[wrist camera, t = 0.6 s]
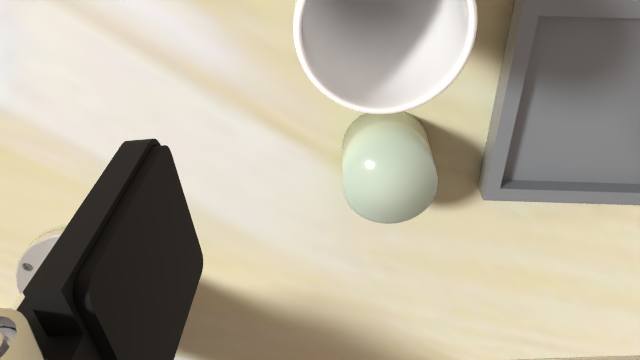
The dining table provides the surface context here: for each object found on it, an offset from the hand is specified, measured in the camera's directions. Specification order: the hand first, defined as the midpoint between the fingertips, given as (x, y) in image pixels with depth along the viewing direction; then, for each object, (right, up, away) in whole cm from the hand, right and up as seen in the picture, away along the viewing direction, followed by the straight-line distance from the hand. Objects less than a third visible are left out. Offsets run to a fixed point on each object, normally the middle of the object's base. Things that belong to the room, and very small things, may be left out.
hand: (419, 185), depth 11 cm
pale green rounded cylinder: (+3, +2, +29) cm, 30 cm away
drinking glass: (+1, +14, +23) cm, 26 cm away
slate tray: (+17, +5, +27) cm, 32 cm away
